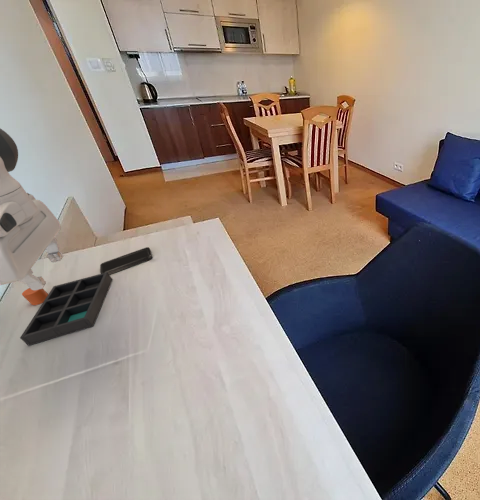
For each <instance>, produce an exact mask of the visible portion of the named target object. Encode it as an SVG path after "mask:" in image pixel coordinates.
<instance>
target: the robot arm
mask: <svg viewBox="0 0 480 500" xmlns="http://www.w3.org/2000/svg"><path fill="white" fill-rule="evenodd" d="M18 160H19V149H18V146H17V144H16V142H15V140H14V138H12V137H11V135H10V134H8V133H7V132H6V131H5V130H4V129H2V128H0V286H3V285H8V284H12V283H13V284H14V283H16V282H19V283H22V284H24V285H26V286H27V287H28V288H30V289H31V290H39V289H42V288H43V289H44V287H45V286H46V285H47V281H46V280H45V279H44V277H42V276H36V275H35V274H34V271H33V270H32V268H33V266H34V265H35V264H36V262H37V261H38V260H39V259H40V257H41V256H42V255H43V253H44V252H45V251H46V253H47V254H46V258H48V259H49V261H50V263H58V262H61V260H63V257H64V254H63V253H62V252H61V250H60V246H59V242H58V240H57V238H56V236H57V235H58V233H59V232H60V231H61V230H62V226H61V223H60V221H59V219H57V217H56V216H55V214H54V213H53V212H52V211H51V210H50V208H48V206H47V205H46V204H45V203H44V202H43V201H41V200H40V199H36V198H35V196H34V195H33V194H31V193H28V192H27V191H26V189H24V187H23V186H22V184H21V183H20V182H19V181H18V180H17V179H16V178H15V177H13V176H12V175H11V174H10V172H12V171H15V169H16V167H17V164H18Z"/></svg>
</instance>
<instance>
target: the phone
mask: <svg viewBox="0 0 480 500" xmlns="http://www.w3.org/2000/svg"><path fill="white" fill-rule="evenodd" d="M152 259H153V253H152V250H151V248H150V246H149V247H148V246H147V247H144V248H140V249H137V250H135V251H132V252H129V253H127V254H123V255H120V256H118V257H115V258H112V259H109V260H107V261H104V262H101V263H100V265H99V268H100V269H99V274H102V273H106V272H108V274H109V275H110V276H111V275H113V274H115V273H117V272H121V271H123V270H126V269H128V268H131V267H134V266H136V265H140V264H142V263H145V262H147V261H150V260H152Z"/></svg>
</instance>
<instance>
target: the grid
mask: <svg viewBox="0 0 480 500" xmlns="http://www.w3.org/2000/svg"><path fill="white" fill-rule="evenodd" d="M113 280H114V279H113V277H112V276H111V274H110V275H109V274H108V272H106V273H102V274H101V273H99V274H94V275H92V276H88V277H83V278H80V279H76V280H71V281H68V282H65V283H60V284H57V285H53V286H52V288H51V289H50V291H49V292H48V293H47V294H48V296H47V297H46V299H45V300H44V302H43V303H41V304H40V306H39V307H38V309H37V311H36V312H35V314H34V316H33V317H32V319H31V320H30V321H29V323H28V324H27V326H26V327H25V329H24V330H23V332H22V334H21V335H20V337H19V339H20V340H22V341H23V343H25V344H26V345H27V346H28V347H29V346H32V345H33V346H34V345H36V344H40V343H42V342H46V341H50V340H53V339H56V338H59V337H62V336H66V335H69V334H72V333H76V332H79V331H83V330H87V329H88V328H92V327H94V326H95V324H96V321H97V318H98V316H99V314H100V311H101V308H102V306H103V304H104V302H105V299H106V297H107V294H108V292H109V289H110V287H111V284H112V282H113Z"/></svg>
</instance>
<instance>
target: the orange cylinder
mask: <svg viewBox="0 0 480 500" xmlns="http://www.w3.org/2000/svg"><path fill="white" fill-rule="evenodd" d="M48 294H49V293H47V291H46V290H45V289H44V287H43V288H42V289H39V290H31V289H30V288H29V287H28V288H26V289H25V290H24V291H23V292H22V293H21V296H22V297H23V298H24V299H25V300H26V301H27V302H28V303H29V304H30V305H31V306H39V305H42V303H43V302H44V300H45V299H46V297H47V296H48Z"/></svg>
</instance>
